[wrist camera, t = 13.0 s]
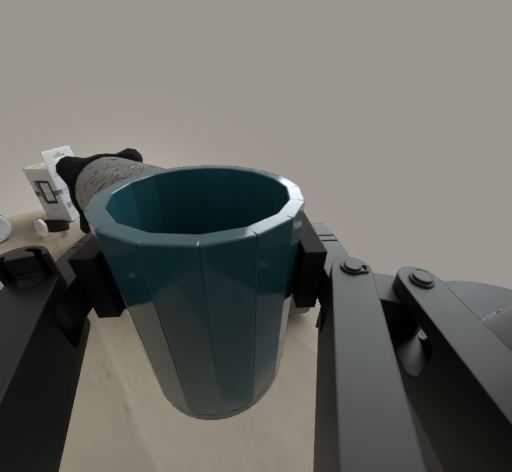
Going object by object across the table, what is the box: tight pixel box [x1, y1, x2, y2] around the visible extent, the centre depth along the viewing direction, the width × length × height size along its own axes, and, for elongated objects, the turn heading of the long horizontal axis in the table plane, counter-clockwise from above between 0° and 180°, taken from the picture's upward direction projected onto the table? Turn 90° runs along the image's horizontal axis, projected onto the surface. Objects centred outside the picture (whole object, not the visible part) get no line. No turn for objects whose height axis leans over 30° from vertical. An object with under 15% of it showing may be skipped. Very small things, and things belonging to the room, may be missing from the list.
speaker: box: [55, 148, 165, 234], centre depth 38 cm, size 15×29×15 cm, turn 57°
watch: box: [33, 219, 70, 237], centre depth 44 cm, size 8×5×4 cm, turn 71°
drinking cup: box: [84, 165, 305, 420], centre depth 10 cm, size 7×7×9 cm
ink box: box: [23, 145, 80, 221], centre depth 48 cm, size 8×5×15 cm, turn 3°
